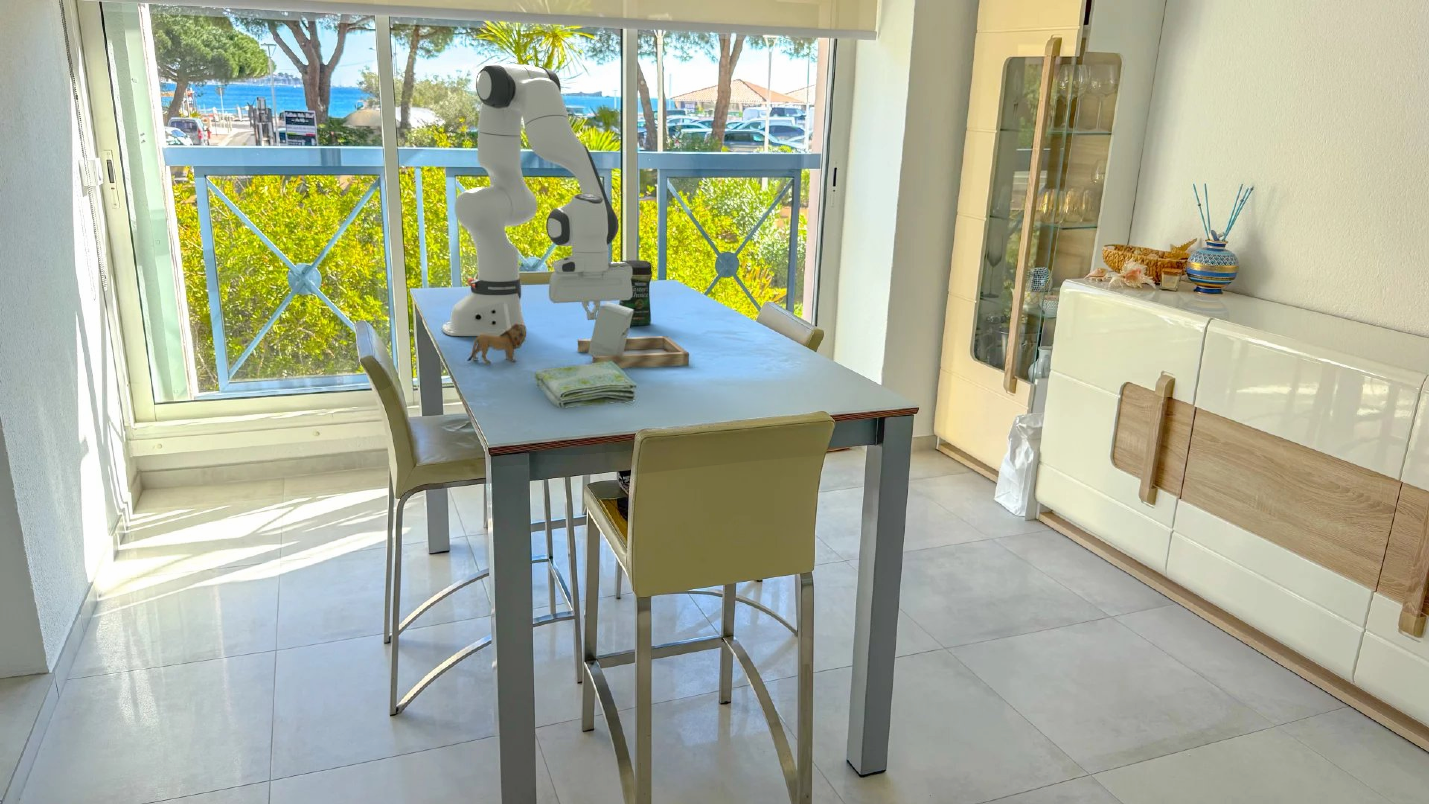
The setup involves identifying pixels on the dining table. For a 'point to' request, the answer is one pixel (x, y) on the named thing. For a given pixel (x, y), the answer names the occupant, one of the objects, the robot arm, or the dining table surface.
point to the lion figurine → (500, 342)
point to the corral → (643, 352)
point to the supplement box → (610, 330)
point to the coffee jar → (639, 292)
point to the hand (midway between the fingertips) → (591, 319)
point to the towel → (586, 384)
